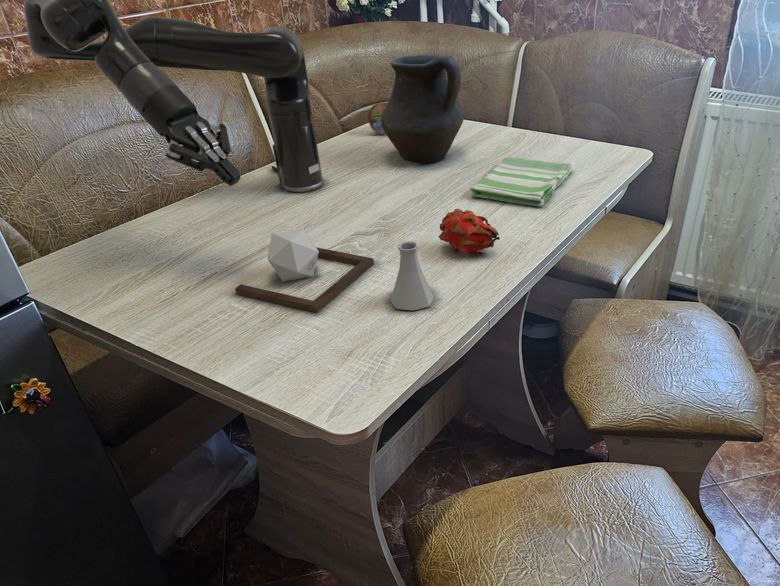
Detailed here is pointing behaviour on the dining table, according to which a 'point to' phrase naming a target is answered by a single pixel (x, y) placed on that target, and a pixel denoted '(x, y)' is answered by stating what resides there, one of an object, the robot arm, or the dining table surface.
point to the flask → (410, 281)
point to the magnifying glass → (377, 117)
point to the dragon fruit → (467, 232)
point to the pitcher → (423, 107)
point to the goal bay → (324, 298)
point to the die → (292, 254)
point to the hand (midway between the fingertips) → (235, 181)
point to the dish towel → (522, 181)
